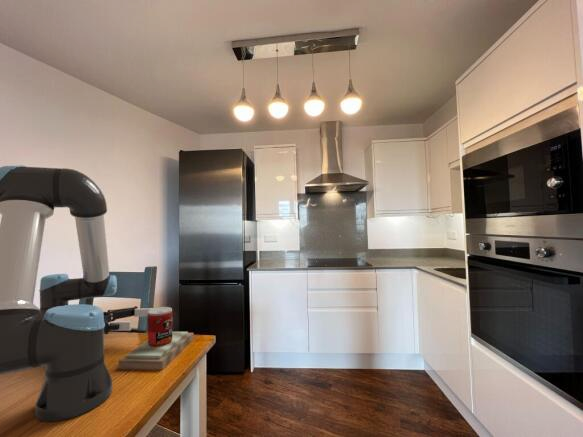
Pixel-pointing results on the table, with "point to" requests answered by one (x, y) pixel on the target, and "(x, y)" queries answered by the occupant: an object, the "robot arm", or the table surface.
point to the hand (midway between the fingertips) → (142, 318)
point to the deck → (156, 353)
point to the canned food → (159, 326)
